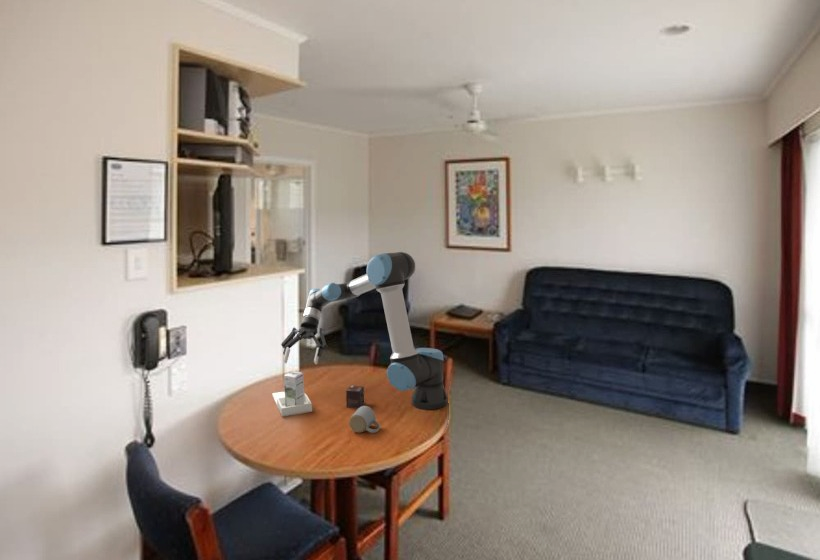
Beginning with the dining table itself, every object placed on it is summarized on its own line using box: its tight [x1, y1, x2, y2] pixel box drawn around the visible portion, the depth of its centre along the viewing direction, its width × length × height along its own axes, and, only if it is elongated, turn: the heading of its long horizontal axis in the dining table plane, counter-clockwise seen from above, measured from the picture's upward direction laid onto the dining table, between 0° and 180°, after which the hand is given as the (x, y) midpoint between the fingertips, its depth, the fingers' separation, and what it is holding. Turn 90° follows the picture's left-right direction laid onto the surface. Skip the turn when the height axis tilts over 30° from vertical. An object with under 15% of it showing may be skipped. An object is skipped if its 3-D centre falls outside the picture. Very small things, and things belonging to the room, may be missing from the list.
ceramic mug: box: [349, 405, 381, 434], centre depth 178 cm, size 11×8×8 cm
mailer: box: [271, 390, 313, 418], centre depth 205 cm, size 27×12×4 cm, turn 24°
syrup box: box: [283, 371, 305, 407], centre depth 197 cm, size 6×6×14 cm
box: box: [345, 385, 365, 409], centre depth 201 cm, size 6×6×7 cm
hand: (300, 362), depth 204 cm, fingers open, 13 cm apart
